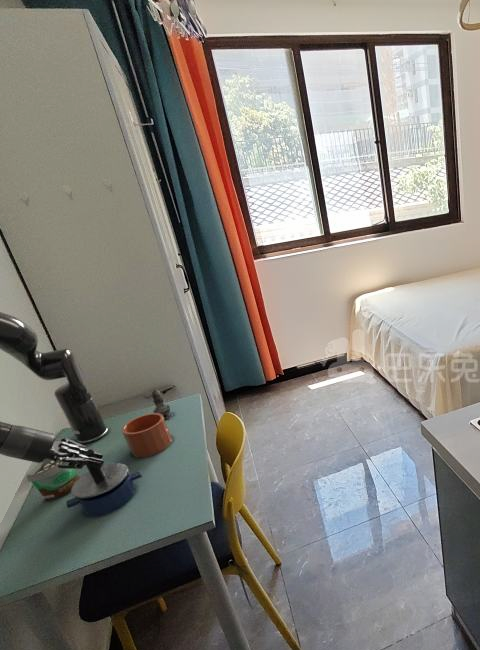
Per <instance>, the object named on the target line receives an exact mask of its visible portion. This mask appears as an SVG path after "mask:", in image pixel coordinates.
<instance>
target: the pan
mask: <svg viewBox="0 0 480 650" xmlns="http://www.w3.org/2000/svg"><path fill="white" fill-rule="evenodd" d="M141 478H142V473H141V471H140V470H137V471H135V472H133V473H129V472H128V474H127V476H126V478H125V479H124V480H123V481H122V482H121V483H120V484H118V485H117V486H116V487H114V488H112V489H111V490H109V491H107V492H105V493H103V494H100V495H97V496H94V497H90V498H77V497H75V496H74V497H73V498H71V499H68V500H66V508H67V509H70V508H72V507H75V506H78V505H80V507H81V508H82V510H83V512H85V514H86V515H88V516H91V517H97V516H98V517H99V516H102V515H107V514H109V513H111V512H112V513H113V512H114V511H116V510H118V509H119V508H121V507H123V506H124V505H126V504H127V503H128V502H129V501H130V500H131V499H132V498H133V497H134V495H135V494H136V487H135V484H134V481H136V480H138V479H141Z"/></svg>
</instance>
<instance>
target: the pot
mask: <svg viewBox="0 0 480 650" xmlns="http://www.w3.org/2000/svg"><path fill="white" fill-rule="evenodd" d="M121 432H122V435H123V437H124V439H125V441H126V444H127V446H128V448H129V450H130V453H131V455H132V456H133V457H134V458H135V457H136V458H147V457H151V456H154V455H157V454H158V453H160V452H162V451H164V450H166V448H168V447H169V446H170V445H171V443H172V441H173V437H172V435H171V432H170V429H169V427H168V425H167V422H166V420H164V417H163V415H162V414H159V413H154V412H151V413H146V414H142V415H139V416H136V417H135V418H133V419H131V420H129V421H128V422H127V423H125V424H124V425H123V427H122V428H121Z"/></svg>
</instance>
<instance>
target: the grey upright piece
mask: <svg viewBox="0 0 480 650" xmlns="http://www.w3.org/2000/svg"><path fill="white" fill-rule="evenodd" d="M151 397H152V399H153V401H152V403H154V405H155V408H154V409H153V411H152V413H159V414H162V415H163V417H164V420H165V421H167V420H169V419H171V418H172V417H173V415H174V414H173V413H172V412H171V405H170V404H166V403H165V401H164V397H163V396H162V393H161V391H160V390H157V389H155V388H153V391H152V392H151Z"/></svg>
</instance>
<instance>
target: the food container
mask: <svg viewBox="0 0 480 650" xmlns="http://www.w3.org/2000/svg"><path fill="white" fill-rule="evenodd" d="M58 465H59V463H58V462H56V461H52V460H49V461H47V462H46V463H44V464H43V465H42V466H41V467H40V468H39V469H38V470H36V471H35V472H34V473H32V474H26V476H27V477H26V479H27V482H28V483H32V484H33V486H34V488H35V489H37V491H38V492H39V494H41V496H42V498H44V500H45V501H52V500H55V499H58V498H62V497H64V496H65V495H68V494H70V493H72V492H71V490H72V487H73V485H74V484H75V483H76V481H77V480H79V478H78V475H77V473H76V469H68V468H58V467H57V466H58Z"/></svg>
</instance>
